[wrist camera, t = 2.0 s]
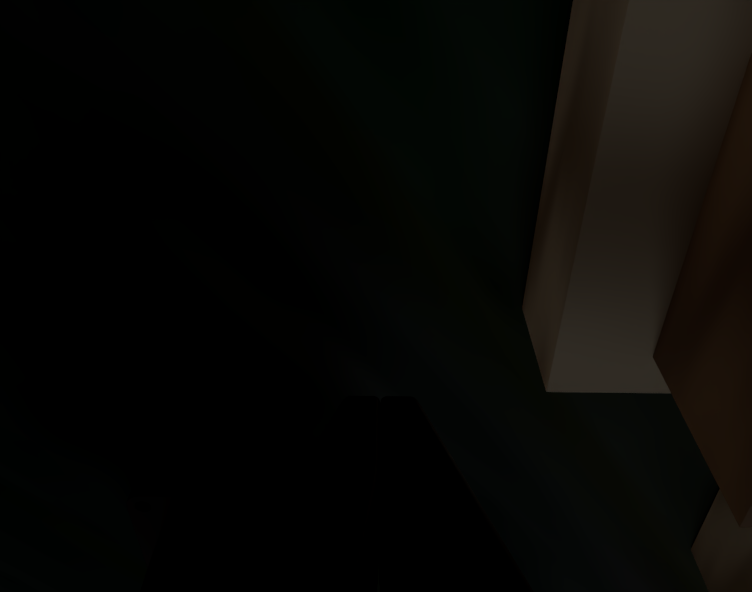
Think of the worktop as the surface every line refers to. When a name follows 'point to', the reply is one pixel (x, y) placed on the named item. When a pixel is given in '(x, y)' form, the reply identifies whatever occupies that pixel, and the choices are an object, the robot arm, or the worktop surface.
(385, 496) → the robot arm
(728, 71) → the trap deck
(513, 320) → the worktop surface
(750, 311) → the walnut block
